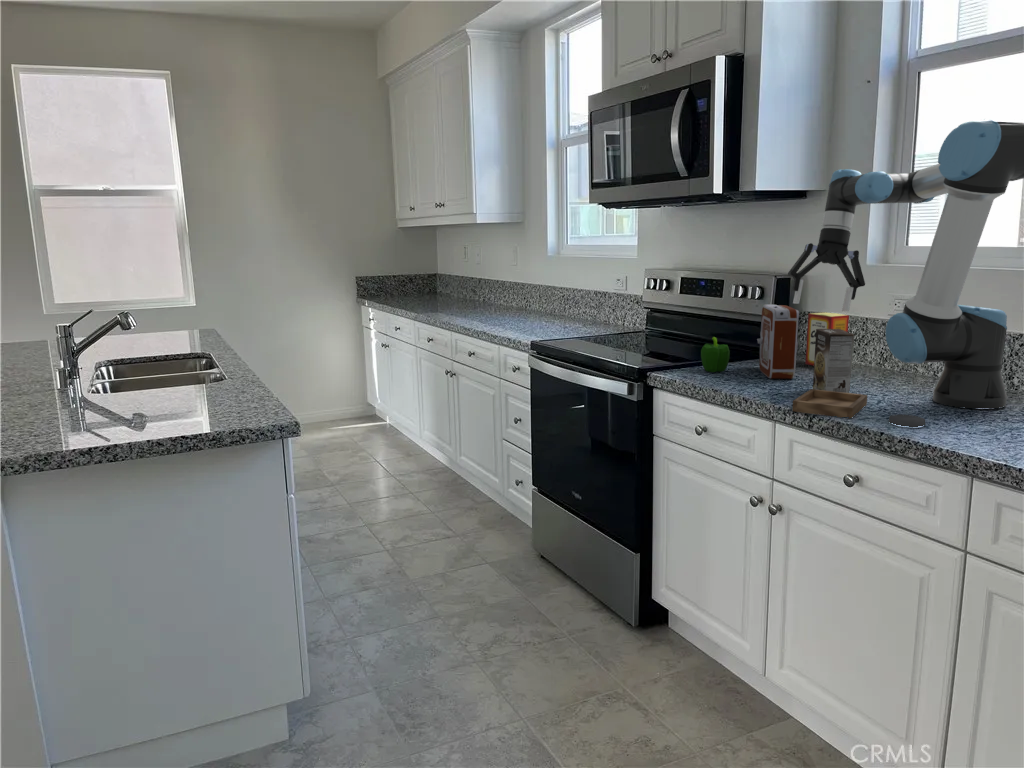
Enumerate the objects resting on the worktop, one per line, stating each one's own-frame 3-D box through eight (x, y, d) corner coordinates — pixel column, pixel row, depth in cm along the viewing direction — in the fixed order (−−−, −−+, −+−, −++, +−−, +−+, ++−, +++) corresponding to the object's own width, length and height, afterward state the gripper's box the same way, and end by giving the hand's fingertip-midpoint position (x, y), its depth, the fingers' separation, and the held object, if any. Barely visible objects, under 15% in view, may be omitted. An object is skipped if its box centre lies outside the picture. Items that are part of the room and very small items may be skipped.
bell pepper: (727, 374, 219) (728, 340, 217) (698, 373, 222) (699, 339, 220) (730, 369, 227) (731, 336, 225) (702, 367, 230) (703, 335, 228)
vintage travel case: (782, 367, 228) (785, 301, 224) (799, 380, 209) (804, 308, 205) (750, 367, 229) (754, 301, 225) (765, 380, 210) (769, 308, 206)
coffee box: (811, 389, 198) (815, 328, 194) (836, 389, 197) (840, 328, 194) (824, 397, 189) (828, 333, 185) (850, 397, 189) (855, 333, 185)
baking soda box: (805, 363, 233) (808, 312, 229) (822, 362, 235) (825, 311, 231) (827, 369, 224) (831, 315, 221) (845, 367, 226) (848, 314, 223)
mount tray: (866, 405, 180) (867, 395, 179) (851, 418, 168) (852, 407, 168) (810, 398, 187) (811, 388, 187) (792, 411, 176) (792, 400, 175)
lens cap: (928, 424, 164) (928, 417, 163) (920, 431, 158) (921, 424, 158) (893, 419, 168) (894, 413, 168) (884, 425, 163) (885, 419, 163)
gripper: (875, 237, 207) (860, 314, 209) (785, 223, 207) (771, 300, 209) (888, 235, 199) (872, 314, 202) (795, 220, 200) (779, 300, 202)
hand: (820, 307), depth 205 cm, fingers open, 13 cm apart
